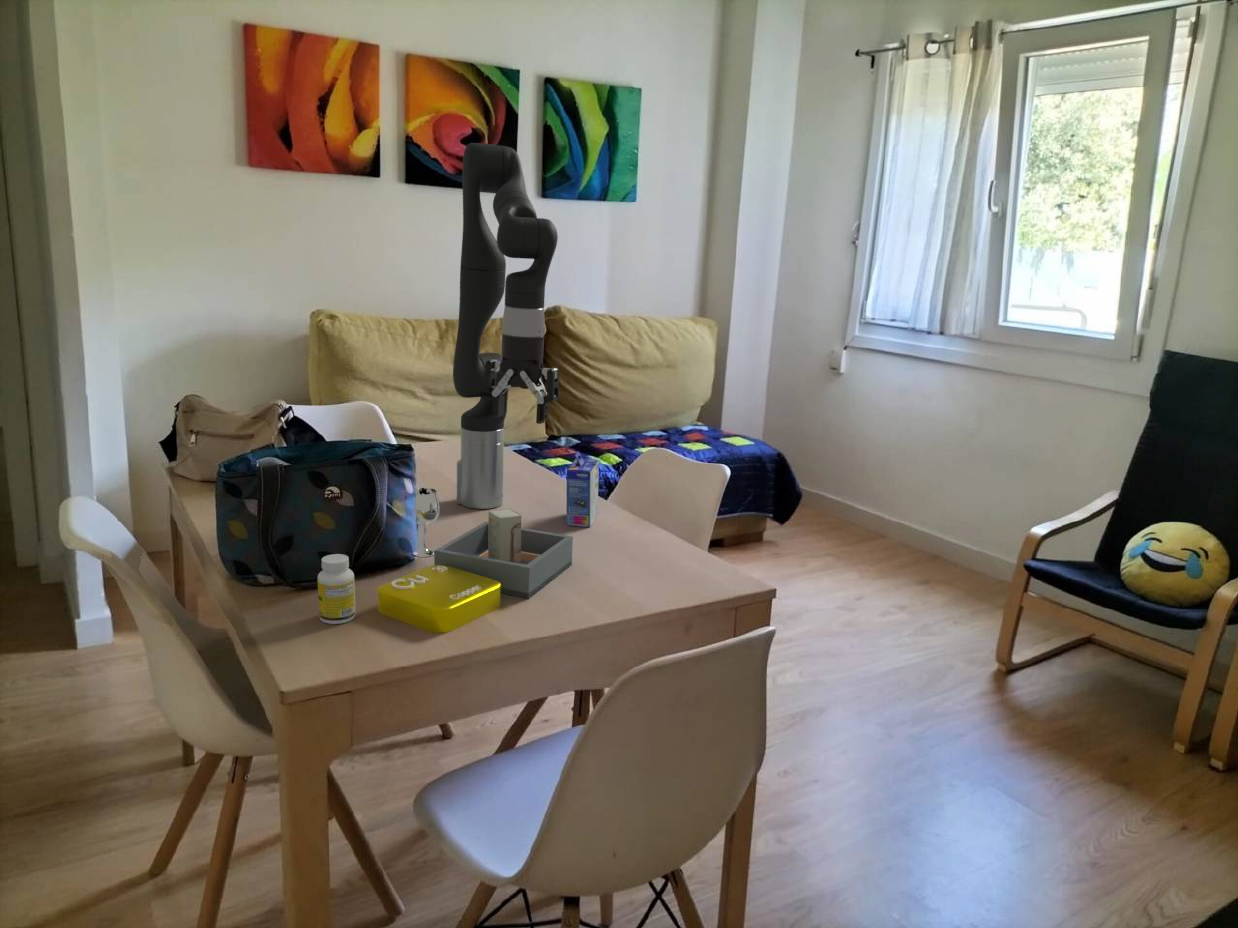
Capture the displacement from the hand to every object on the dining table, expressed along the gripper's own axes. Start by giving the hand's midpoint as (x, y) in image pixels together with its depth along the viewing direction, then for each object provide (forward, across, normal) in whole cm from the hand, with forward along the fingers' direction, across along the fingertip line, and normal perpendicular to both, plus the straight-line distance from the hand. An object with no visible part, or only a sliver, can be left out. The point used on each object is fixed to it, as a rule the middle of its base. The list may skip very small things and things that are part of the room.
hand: (519, 419), depth 171 cm
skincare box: (+24, +4, -12) cm, 28 cm away
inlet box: (+25, +5, -12) cm, 28 cm away
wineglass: (+26, -13, -11) cm, 31 cm away
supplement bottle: (+25, -9, -42) cm, 49 cm away
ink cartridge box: (+26, +4, +23) cm, 35 cm away
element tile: (+25, +3, -31) cm, 40 cm away
